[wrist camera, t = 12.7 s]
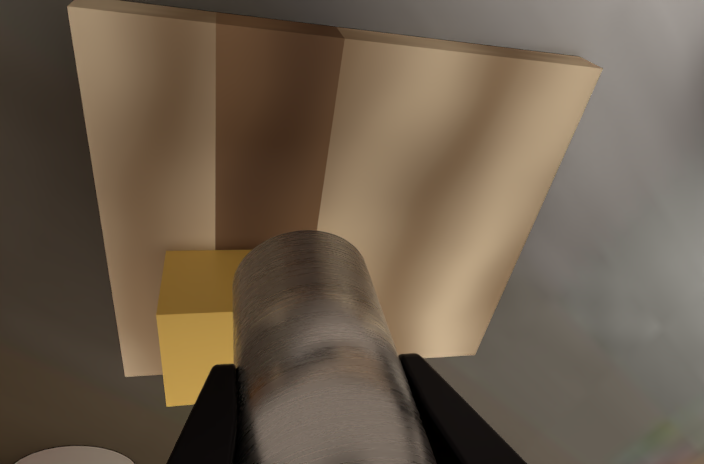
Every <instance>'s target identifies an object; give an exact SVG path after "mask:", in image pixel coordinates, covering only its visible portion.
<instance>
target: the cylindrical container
mask: <svg viewBox="0 0 704 464" xmlns="http://www.w3.org/2000/svg"><path fill="white" fill-rule="evenodd" d="M15 464H135V463H134V462H132V461H131V460H130V459H129V458H127V457H126V456H124V455H122V454H120V453H117V452H114V451H112V450H108V449H104V448H98V447H90V446H66V447H57V448H52V449H47V450H42V451H39V452H36V453H33V454H30V455H28V456H26V457H24V458H22V459H20V460H19V461H18V462H16V463H15Z"/></svg>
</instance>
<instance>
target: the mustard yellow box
mask: <svg viewBox="0 0 704 464" xmlns="http://www.w3.org/2000/svg"><path fill="white" fill-rule="evenodd" d="M250 251H251V250H189V251H166V254H165V260H164V267H163V273H162V280H161V286H160V293H159V300H158V306H157V313H156V318H157V327H158V336H159V345H160V353H161V362H162V371H163V380H164V388H165V397H166V406H167V407H169V406H180V405H192V404H195V402H196V400H197V398H198V396H199V394H200V392H201V390H202V387H203V385H204V383H205V381H206V379H207V377H208V375H209V373H210V371H211V369H212V367H213V366H214V365H217V364H234V361H233V298H232V285H233V278H234V275H235V272H236V270H237V268H238V266H239V264H240V263H241V261H242V260H243V258H244V257H245V256H246V255H247V254H248V253H249V252H250Z"/></svg>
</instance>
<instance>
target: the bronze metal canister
mask: <svg viewBox="0 0 704 464" xmlns="http://www.w3.org/2000/svg"><path fill="white" fill-rule="evenodd" d="M232 298H233V361H234V365H235V366H236V380H237V412H238V423H237V444H236V458H235V464H437V463H436V460H435V457H434V454H433V451H432V449H431V446H430V443H429V440H428V437H427V434H426V432H425V429H424V426H423V423H422V420H421V418H420V415H419V412H418V409H417V406H416V404H415V401H414V398H413V395H412V392H411V389H410V387H409V384H408V381H407V378H406V375H405V373H404V370H403V367H402V364H401V361H400V359H399V356H398V353H397V350H396V347H395V345H394V342H393V339H392V336H391V333H390V330H389V328H388V325H387V322H386V319H385V316H384V314H383V311H382V308H381V305H380V302H379V300H378V297H377V294H376V291H375V288H374V285H373V283H372V280H371V277H370V274H369V271H368V269H367V266H366V263H365V260H364V258H363V256H362V255H361V253H360V252H359V251H358V249H357V248H356V247H355V246H354V245H352V244H351V243H350V242H348V241H347V240H345V239H344V238H342V237H339V236H337V235H335V234H331V233H328V232H323V231H315V230H300V231H293V232H288V233H284V234H280V235H278V236H275V237H272V238H270V239H268V240H266V241H264V242H262V243H261V244H259V245H258V246H256V247H255V248H254V249H253V250H251V251H250V252H249V253H248V254H247V255H246V256H245V257H244V258H243V260H242V261H241V263H240V264H239V266H238V268H237V270H236V272H235V275H234V278H233V285H232Z"/></svg>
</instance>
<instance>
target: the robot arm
mask: <svg viewBox="0 0 704 464" xmlns="http://www.w3.org/2000/svg"><path fill="white" fill-rule="evenodd" d="M398 356H399V359H400V361H401V364H402V367H403V370H404V373H405V375H406V378H407V381H408V384H409V387H410V389H411V392H412V395H413V398H414V401H415V404H416V406H417V409H418V412H419V415H420V418H421V420H422V423H423V426H424V429H425V432H426V434H427V437H428V440H429V443H430V446H431V449H432V451H433V454H434V457H435V460H436V463H437V464H527V463H526V462H525V461H524V460H523V459H522V458H521V457H520V456H519V455H518V454H517V453H516V452H515V451H514V450H513V449H512V448H511V447H510V446H509V445H508V444H507V443H506V442H505V441H504V440H503V439H502V438H501V437H500V436H499V435H498V434H497V433H496V432H495V431H494V430H493V428H492V427H491V426H490V425H489V424H488V423H487V422H486V421H485V420H484V419H483V418H482V417H481V416H480V415H479V414H478V413H477V412H476V411H475V410H474V409H473V408H472V407H471V406H470V405H469V404H468V403H467V402H466V401H465V400H464V399H463V398H462V397H461V396H460V395H459V394H458V393H457V392H456V391H455V390H454V389H453V388H452V387H451V386H450V385H449V384H448V383H447V382H446V381H445V380H444V379H443V378H442V377H441V376H440V375H439V374H438V373H437V372H436V371H435V370H434V369H433V368H432V367H431V366H430V365H429V364H428V363H427V362H426V361H425V360H424V359H423V358H422V357H421V356H420V355H419V354H417V353H407V354H400V355H398ZM237 423H238V412H237V380H236V366H235V365H234V364H217V365H214V366H213V367H212V369H211V371H210V373H209V375H208V377H207V379H206V381H205V383H204V385H203V387H202V390H201V392H200V394H199V396H198V398H197V400H196V402H195V404H194V406H193V409H192V411H191V413H190V415H189V417H188V419H187V421H186V423H185V425H184V428H183V430H182V432H181V434H180V436H179V438H178V440H177V442H176V444H175V447H174V449H173V451H172V453H171V455H170V457H169V459H168V461H167V463H166V464H235V458H236V444H237Z"/></svg>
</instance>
